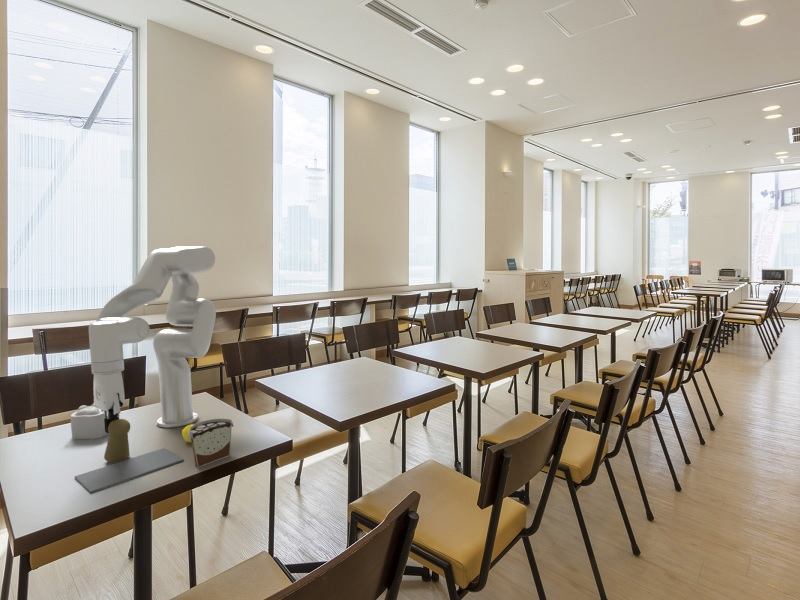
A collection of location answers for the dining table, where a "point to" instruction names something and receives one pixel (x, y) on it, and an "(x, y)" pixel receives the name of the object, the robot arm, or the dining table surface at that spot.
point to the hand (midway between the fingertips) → (112, 431)
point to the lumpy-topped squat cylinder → (88, 423)
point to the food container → (210, 440)
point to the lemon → (186, 432)
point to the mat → (127, 469)
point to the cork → (117, 441)
